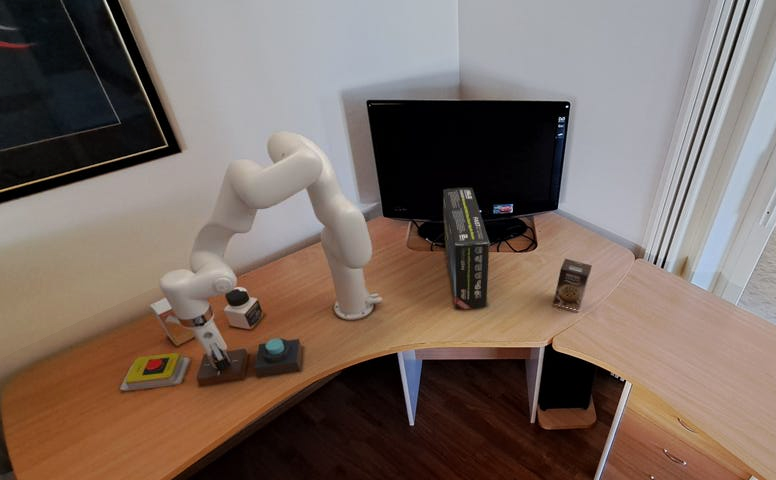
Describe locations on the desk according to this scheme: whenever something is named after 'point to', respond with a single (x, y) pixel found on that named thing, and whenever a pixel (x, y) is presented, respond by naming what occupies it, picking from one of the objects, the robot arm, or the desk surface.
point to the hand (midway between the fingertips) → (220, 361)
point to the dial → (215, 356)
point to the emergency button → (155, 372)
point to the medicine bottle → (242, 309)
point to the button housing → (279, 359)
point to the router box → (466, 248)
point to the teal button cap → (275, 346)
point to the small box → (171, 322)
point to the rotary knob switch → (228, 374)
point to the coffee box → (572, 285)
